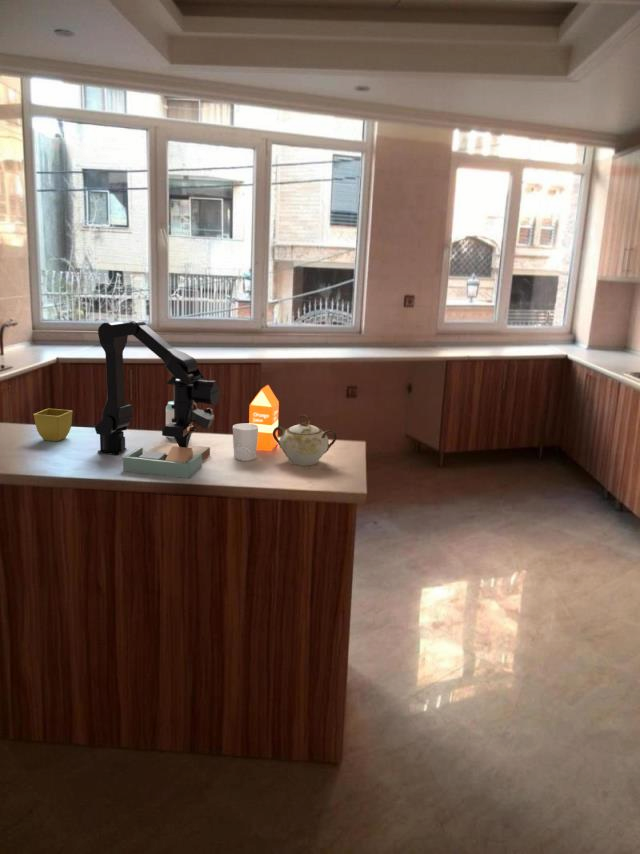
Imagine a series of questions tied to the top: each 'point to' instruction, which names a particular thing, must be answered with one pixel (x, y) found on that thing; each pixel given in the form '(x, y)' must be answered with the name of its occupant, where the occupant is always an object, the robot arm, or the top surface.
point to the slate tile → (153, 455)
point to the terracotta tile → (180, 454)
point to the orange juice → (265, 418)
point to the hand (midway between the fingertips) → (184, 452)
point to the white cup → (245, 441)
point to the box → (160, 465)
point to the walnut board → (166, 447)
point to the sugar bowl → (304, 442)
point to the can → (169, 415)
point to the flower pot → (53, 423)
